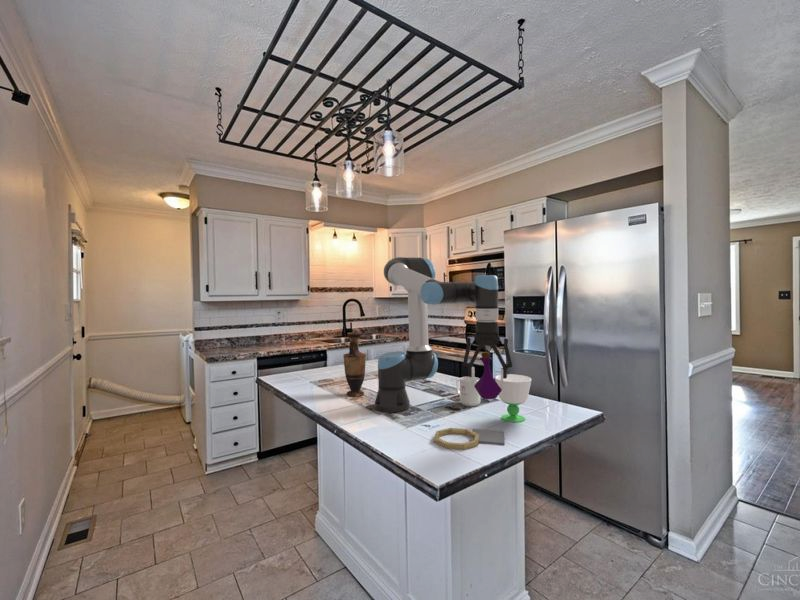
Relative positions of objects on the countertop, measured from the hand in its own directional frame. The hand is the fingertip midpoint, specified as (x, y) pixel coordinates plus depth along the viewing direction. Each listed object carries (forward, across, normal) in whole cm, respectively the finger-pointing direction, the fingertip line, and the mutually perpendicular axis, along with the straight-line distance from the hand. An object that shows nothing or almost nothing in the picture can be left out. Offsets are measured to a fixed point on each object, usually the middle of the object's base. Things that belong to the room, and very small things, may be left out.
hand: (487, 387), depth 134 cm
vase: (+17, -64, +42) cm, 79 cm away
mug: (+17, -10, +39) cm, 44 cm away
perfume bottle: (+4, 0, 0) cm, 4 cm away
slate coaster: (+17, 0, 0) cm, 17 cm away
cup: (+17, +9, +22) cm, 30 cm away
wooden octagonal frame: (+17, -10, -5) cm, 21 cm away
